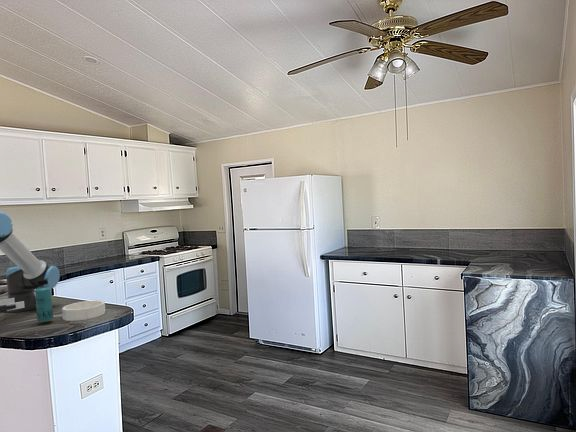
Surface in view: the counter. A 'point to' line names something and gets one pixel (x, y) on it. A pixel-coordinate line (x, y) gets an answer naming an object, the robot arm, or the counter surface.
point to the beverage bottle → (44, 302)
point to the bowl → (83, 310)
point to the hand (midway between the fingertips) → (19, 302)
